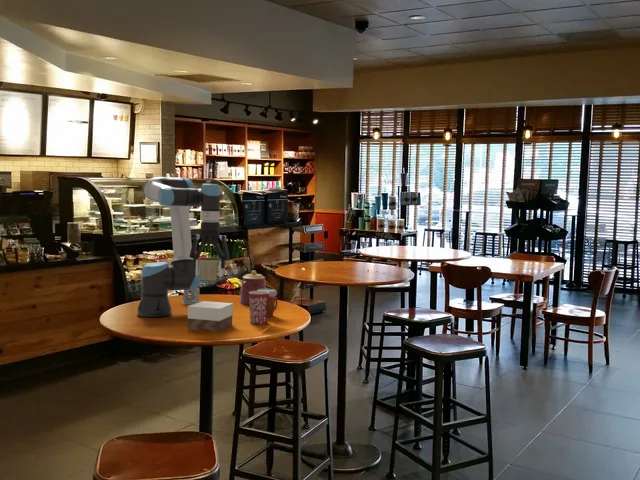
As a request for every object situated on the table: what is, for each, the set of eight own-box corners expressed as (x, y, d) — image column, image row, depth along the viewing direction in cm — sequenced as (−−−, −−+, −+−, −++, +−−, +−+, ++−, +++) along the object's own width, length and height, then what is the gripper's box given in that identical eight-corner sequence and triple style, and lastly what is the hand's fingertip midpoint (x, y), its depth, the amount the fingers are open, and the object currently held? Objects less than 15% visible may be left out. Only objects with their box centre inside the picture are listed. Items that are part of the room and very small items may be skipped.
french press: (199, 305, 314) (200, 255, 312) (175, 304, 314) (176, 254, 312) (203, 302, 324) (203, 253, 322) (180, 301, 324) (181, 252, 322)
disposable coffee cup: (273, 318, 287) (273, 292, 286) (253, 317, 289) (253, 290, 288) (278, 314, 297) (279, 289, 296) (259, 313, 298) (259, 288, 298)
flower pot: (225, 279, 264) (225, 259, 264) (209, 281, 256) (210, 260, 256) (208, 277, 269) (208, 257, 269) (192, 279, 261) (193, 258, 261)
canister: (262, 308, 313) (262, 272, 311) (236, 306, 315) (237, 271, 313) (268, 303, 325) (269, 269, 324) (244, 302, 328) (245, 268, 326)
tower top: (187, 318, 259) (187, 306, 259) (202, 312, 273) (202, 300, 273) (219, 321, 256) (219, 308, 256) (232, 315, 269) (233, 303, 269)
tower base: (187, 330, 259) (188, 318, 259) (201, 324, 273) (201, 312, 273) (220, 333, 257) (220, 320, 256) (232, 326, 270) (232, 314, 270)
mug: (245, 324, 273) (246, 293, 272) (250, 320, 282) (251, 290, 281) (274, 326, 271) (275, 294, 270) (278, 321, 280) (279, 291, 279)
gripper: (181, 220, 260) (180, 275, 261) (232, 222, 255) (231, 278, 257) (188, 220, 267) (188, 273, 269) (238, 222, 263) (237, 276, 264)
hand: (209, 275), depth 263 cm, fingers closed on flower pot, 9 cm apart
